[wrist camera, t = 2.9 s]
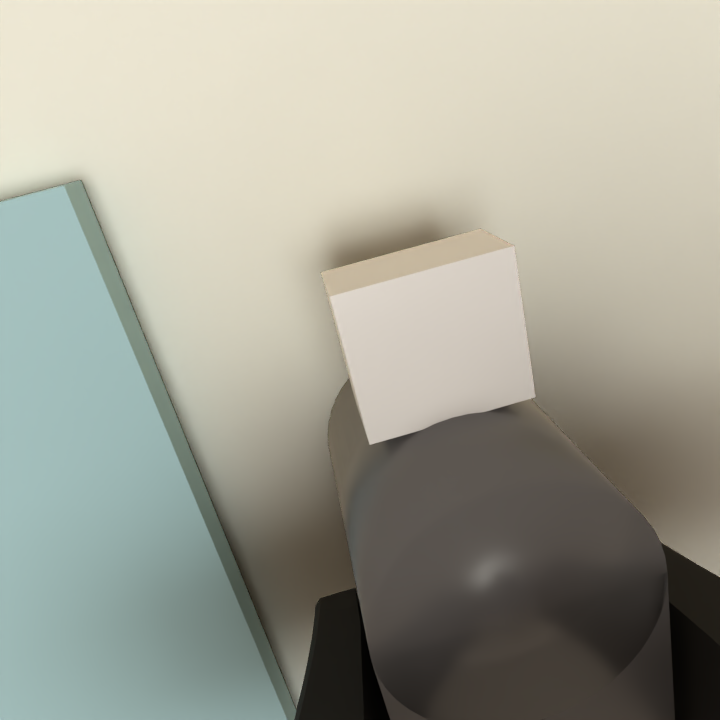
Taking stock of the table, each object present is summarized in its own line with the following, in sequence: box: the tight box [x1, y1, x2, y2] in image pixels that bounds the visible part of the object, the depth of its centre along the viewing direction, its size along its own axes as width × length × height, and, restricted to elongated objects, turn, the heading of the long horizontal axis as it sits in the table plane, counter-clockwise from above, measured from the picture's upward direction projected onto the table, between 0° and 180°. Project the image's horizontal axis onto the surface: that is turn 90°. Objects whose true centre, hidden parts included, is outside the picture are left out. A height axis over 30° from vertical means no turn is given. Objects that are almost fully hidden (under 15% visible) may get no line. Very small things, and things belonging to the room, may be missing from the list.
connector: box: [321, 229, 675, 720], centre depth 10 cm, size 4×10×4 cm, turn 14°
